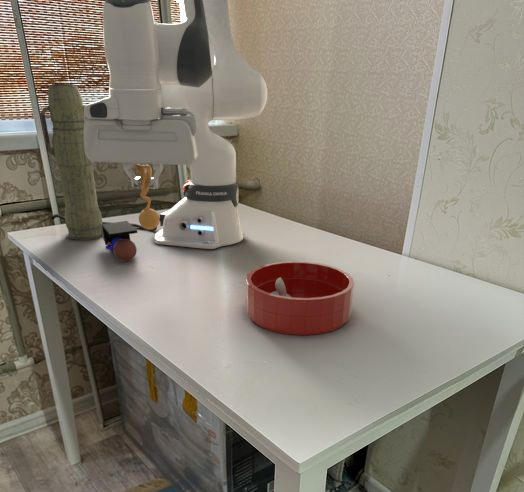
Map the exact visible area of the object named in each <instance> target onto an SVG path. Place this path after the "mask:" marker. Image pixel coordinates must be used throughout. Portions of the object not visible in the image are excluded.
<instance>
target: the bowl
mask: <svg viewBox="0 0 524 492" xmlns="http://www.w3.org/2000/svg"><path fill="white" fill-rule="evenodd" d="M278 278H282V280H283V282H284V285H285V288H286V293H287V294H288V295H290V296H291V297H285V296H278V295H275V294H271V293H272V292H274V291H277V290H276V287H275V283H276V280H277V279H278ZM354 287H355V282H354V278H353V277H352V275H350V274H349V273H348V272H346V271H345V270H343V269H340V268H338V267H335V266H332V265H330V264H329V265H328V264H324V263H319V262H311V261H297V260H296V261H295V260H294V261H291V260H290V261H278V262H272V263H271V262H270V263H267V264H263V265H259V266H258V267H256V268H254V269H252V270H251V271H249V272H248V273H247V274H246V278H245V312H246V314H247V317H249V318H250V319H251V320H252V321H253V322H254V323H255V324H256V325H258V326H259V327H261V328H263V329H265V330H267V331H268V330H269V331H271V332H275V333H279V334H284V335H292V336H313V335H320V334H325V333H330V332H333V331H336V330H337V329H339V328H341V327H342V326H344V324H345V323H347V322H348V321H349V320H350V318H351V315H352V309H353V307H352V306H353V298H354V289H355V288H354Z"/></svg>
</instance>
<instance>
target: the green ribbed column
mask: <svg viewBox="0 0 524 492" xmlns="http://www.w3.org/2000/svg"><path fill="white" fill-rule="evenodd" d="M47 103H48V105H47V106H46V107H43V108H42V110H41V112H40V113H39V116H40V122H41V126H42V130H43V135H44V140H45V145H46V147H45V148H46V152H47V153H48V154H50V155H51V156H53V157H54V161H55V166H56V168H58V172H59V177H60V184H61V190H62V195H63V202H64V206H65V207H64V215H63V216H64V217H65V220H64V222H65V226H66V228H67V233H68V238H69V239H71V240H75V241H88V240H94V239H99V238H101V237H103V236H102V232H101V227H102V224H103V223H102V222H103V217H102V212H101V210H100V208H99V204H98V197H97V189H96V183H95V175H94V165H95V162H91V161H90V160H89V159H88V158H87V157H86V155H85V149H84V125H85V123H86V116H85V113H84V107H85V106H86V105H84V101H83V97H82V95H81V92H80V91H79V87H78V86H77V85H75V84H74V83H51V85H49V86H48V92H47ZM47 111H48V112H49V115H50V121H51V122H52V123H51V124H52V133H53V134H52V140H51V141H50V136H49V130H48V124H47V118H46V113H47ZM51 143H52V147H51Z"/></svg>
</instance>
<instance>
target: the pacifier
mask: <svg viewBox="0 0 524 492" xmlns="http://www.w3.org/2000/svg"><path fill="white" fill-rule="evenodd" d="M275 287H276V290H277V291H274V292H272V293H271V294H275V295H278V296H285V297H291V296H290V295H288V294H287V293H286V288H285V285H284V282H283V280H282V278H278V279H277V280H276V283H275Z"/></svg>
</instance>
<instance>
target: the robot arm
mask: <svg viewBox="0 0 524 492" xmlns="http://www.w3.org/2000/svg"><path fill="white" fill-rule="evenodd" d="M175 1H176V2H177V3H179V11H180V22H179V23H156V22H155V16H154V11H153V7H152V3H151V1H150V0H104V2H103V8H102V32H103V33H102V34H103V47H104V56H105V62H106V65H107V67H108V71H109V81H108V88H109V89H108V91H109V96H107V97H102V98H100V99H99V100H97V101H94V102H90V103H88V104H86V105H84V106H85V107H84V114H85V119H86V118H87V120H85V125H84V149H85V155H86V157H87V158H88V159H89V160H90V161H91V162H94V163H111V164H112V163H114V164H119V163H120V164H122V169H123V171H124V172H125V175H127V177H128V178H129V179H130V187H131V188H132V189H141V187H142V179H141V177H140V176H137V175H136V173H135V172H134V170H133V168H134V167H135V164H142V165H152V171H155V172H154V175H153V177H152V176H151V178H150V179H148V183H149V190H151V189H152V190H158V189H159V187H160V186H159V185H160V184H159V183H160V182H159V178H160V176H161V174H162V171H163V170H164V165H175V166H176V165H178V166H189V169H190V179H188V180H186V181H185V182H184V183H183V187H182V193H183V198H182V199H181V200H179V201H178V202H177V203H175V205H173V206H172V207H171V208H170V209H167V210H166V211H164V212H161V213H159V217H160V222H159V225H160V227H162V228H161V229H159V230H158V231H157V232H156V233H155V235H154V243H156V244H157V245H163V246H173V247H174V246H175V247H184V248H193V249H203V250H215V249H218V248H221V247H224V246H231V245H235V244H237V243H240V242H242V241H243V239H244V236H243V233H242V228H241V224H240V217H239V211H238V205H239V203H240V202H239V199H240V198H239V197H240V196H239V193H240V192H239V190H240V189H239V182H238V181H237V153H236V148H235V147H234V145H233V144H232V143H231V142H230V141H229V140H228V139H226V138H224V137H222V136H220V135H218V134H216V133H214V132H213V131H212V130H211V129H210V125H209V122H211V121H241V120H242V121H243V120H246V119H247V120H248V119H251V118H255V117H258V116H260V115H261V113H262V112H263V110H264V109H265V107H266V104H267V100H268V87H267V83H266V80H265V78H264V76H263V75H262V74H261V73H260V71H258V70H257V69H256V68H254V67H253V66H251V65H250V64H249V63H248V62H247V61H246V60H245V59H244V58H243V57H242V55H241V54H240V52H239V51H238V49H237V46H236V45H235V43H234V39H233V35H232V29H231V21H230V9H229V0H175ZM56 218H59V219H61V220H62V221H63V220H64V221H65V215H61V214H58V213H55V214H53V215H52V216H51V217H50V220H55V219H56ZM102 223H103V224H107V223H114V222H113V221H111V222H110V221H102ZM129 223H130V224H131V225H132V226H133V227H134V228H136V229H137V228H138V229H140V230H143V231H148V232H155V231H156V230H157V229H158V226H157V227H156V228H154V229H151V230H149V229H145V228H144V227H142V226H141V224H138V223H132V222H129Z"/></svg>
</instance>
